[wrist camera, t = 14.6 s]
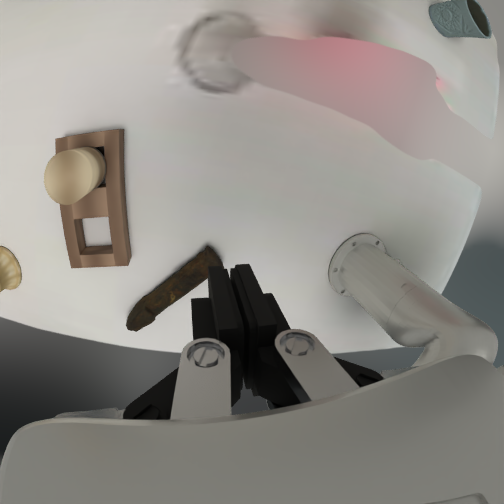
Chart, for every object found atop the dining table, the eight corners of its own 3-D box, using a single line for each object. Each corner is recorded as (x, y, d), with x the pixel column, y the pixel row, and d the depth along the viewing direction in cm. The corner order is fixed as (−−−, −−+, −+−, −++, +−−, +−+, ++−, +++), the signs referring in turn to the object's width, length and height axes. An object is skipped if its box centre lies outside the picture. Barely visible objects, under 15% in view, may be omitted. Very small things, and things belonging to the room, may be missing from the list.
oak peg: (112, 142, 30) (88, 146, 21) (113, 184, 32) (91, 202, 23) (75, 147, 28) (42, 154, 20) (77, 188, 31) (46, 207, 22)
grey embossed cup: (455, 26, 30) (492, 23, 19) (449, 49, 33) (490, 47, 22) (429, -5, 26) (467, -13, 15) (422, 16, 29) (465, 9, 18)
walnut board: (124, 129, 29) (118, 129, 27) (131, 256, 37) (128, 265, 34) (64, 137, 27) (55, 138, 25) (77, 258, 35) (71, 268, 32)
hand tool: (208, 240, 39) (211, 253, 35) (223, 260, 41) (228, 274, 37) (116, 306, 40) (112, 323, 36) (133, 321, 42) (130, 339, 38)
